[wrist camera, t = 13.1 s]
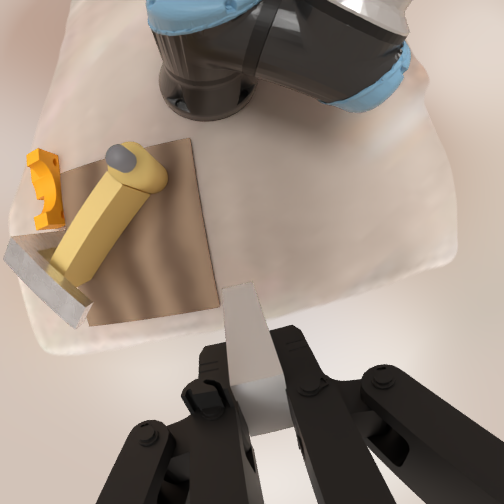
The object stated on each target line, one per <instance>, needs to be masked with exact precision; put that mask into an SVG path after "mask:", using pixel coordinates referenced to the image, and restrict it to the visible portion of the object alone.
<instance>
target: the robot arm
mask: <svg viewBox="0 0 504 504" xmlns="http://www.w3.org/2000/svg"><path fill="white" fill-rule="evenodd" d="M411 1H412V0H146V8H147V14H148V25H149V26H150V28H151V30H152V33H153V35H154V38H155V41H156V44H157V46H158V49H159V52H160V55H161V57H162V60H163V63H162V67H161V70H160V75H159V86H160V90H161V93H162V95H163V98H164V100H165V101H166V103H167V104H168V106H169V107H170V108H171V109H172V110H173V111H175V112H176V113H177V114H179V115H181V116H183V117H185V118H188V119H192V120H198V121H213V120H219V119H223V118H226V117H228V116H230V115H233V114H234V113H236V112H238V111H239V110H240V109H242V108H243V107H244V106H245V105H246V104H247V103H248V102H249V100H250V99H251V97H252V96H253V94H254V91H255V88H256V85H257V80H258V78H260V79H263V80H266V81H269V82H272V83H275V84H278V85H281V86H284V87H287V88H290V89H293V90H295V91H298V92H301V93H303V94H306V95H308V96H311V97H314V98H316V99H318V101H319V102H321V103H323V104H326V105H333V106H335V107H338V108H340V109H343V110H345V111H348V112H355V113H362V112H366V111H369V110H372V109H374V108H375V107H377V106H379V105H380V104H382V103H383V102H384V101H385V100H386V99H388V98H389V97H390V96H391V95H392V93H393V92H394V91H395V90H396V89H397V88H398V86H399V85H400V83H401V82H402V80H403V78H404V76H403V73H404V72H405V71H407V70H408V68H409V65H410V60H411V52H410V49H409V46H408V45H407V44H406V42H405V39H406V37H407V36H408V34H409V32H410V31H409V27H408V24H407V21H406V18H405V10H406V9H407V7H408V6H409V4H410V3H411ZM222 298H223V311H224V324H225V335H226V342H223V343H219V344H214V345H209V346H205V347H204V349H203V350H202V352H201V353H200V355H199V376H198V379H195V380H194V381H192V382H191V383H189V384H188V385H187V386H186V387H185V388H184V389H183V391H182V394H181V398H182V399H183V401H184V403H185V405H186V406H187V408H188V410H189V412H190V413H191V415H189V416H188V417H187V418H185V419H183V420H181V421H179V422H176V423H174V424H171V425H168V426H166V425H164V424H163V423H162V422H159V421H156V420H147V421H144V422H141V423H139V424H138V425H136V426H135V427H134V428H133V429H132V431H131V432H130V434H129V435H128V437H127V439H126V441H125V444H124V446H123V448H122V450H121V452H120V454H119V456H118V458H117V460H116V462H115V464H114V466H113V468H112V470H111V472H110V474H109V476H108V479H107V481H106V483H105V485H104V487H103V489H102V491H101V493H100V496H99V498H98V500H97V502H96V504H264V500H263V495H262V490H261V485H260V480H259V475H258V469H257V464H256V459H255V453H254V449H253V447H252V445H251V442H250V436H251V437H252V436H256V435H261V434H266V433H270V432H274V431H278V430H282V429H286V428H290V427H294V428H295V431H296V436H297V441H298V446H299V449H300V450H301V453H302V456H303V459H304V462H305V465H306V468H307V472H308V475H309V478H310V481H311V484H312V487H313V490H314V493H315V496H316V499H317V502H318V504H396V502H395V500H394V498H393V496H392V494H391V492H390V490H389V488H388V486H387V484H386V482H385V480H384V479H383V476H382V475H381V473H380V471H379V469H378V467H377V465H376V463H375V461H374V459H373V457H372V455H371V453H370V451H369V449H368V448H370V450H371V451H372V452H373V453H374V454H375V455H376V456H377V457H378V458H379V459H380V460H381V461H382V462H383V463H384V464H385V465H386V466H387V467H388V468H389V469H390V470H391V471H392V472H393V473H394V474H395V475H396V476H397V477H399V479H401V480H402V481H403V482H404V483H405V484H406V485H407V486H408V487H409V488H410V489H411V490H412V491H413V492H414V493H415V494H416V495H417V496H418V497H419V498H421V499H422V500H423V501H424V502H425V503H426V504H504V442H503V441H501V440H500V439H499V438H497V437H496V436H494V435H493V434H491V433H490V432H488V431H487V430H485V429H484V428H483V427H481V426H480V425H478V424H477V423H476V422H474V421H473V420H471V419H470V418H468V417H467V416H466V415H464V414H463V413H461V412H460V411H458V410H457V409H455V408H454V407H453V406H451V405H450V404H449V403H447V402H446V401H444V400H443V399H441V398H440V397H439V396H437V395H435V394H434V393H433V392H432V391H430V390H429V389H427V388H426V387H424V386H423V385H421V384H420V383H419V382H417V381H416V380H415V379H413V378H412V377H410V376H409V375H408V374H406V373H405V372H403V371H402V370H400V369H399V368H397V367H395V366H393V365H385V364H384V365H377V366H374V367H372V368H370V369H368V370H367V371H366V372H365V373H364V374H363V376H362V379H359V380H350V381H338V380H334V379H331V378H330V377H328V376H327V375H325V374H324V373H323V372H322V370H321V368H320V366H319V364H318V362H317V360H316V359H315V356H314V355H313V353H312V351H311V349H310V347H309V345H308V343H307V341H306V340H305V337H304V335H303V333H302V331H301V330H300V329H298V328H296V327H295V326H293V325H289V326H286V327H282V328H278V329H274V330H270V331H269V330H268V326H267V323H266V320H265V317H264V314H263V311H262V308H261V305H260V302H259V299H258V296H257V293H256V290H255V287H254V284H253V281H252V282H248V283H244V284H240V285H236V286H232V287H227V288H223V289H222ZM249 434H250V436H249ZM367 446H368V447H367Z"/></svg>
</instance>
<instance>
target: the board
mask: <svg viewBox="0 0 504 504" xmlns="http://www.w3.org/2000/svg"><path fill="white" fill-rule="evenodd" d="M144 149H145V150H146V151H147V152H148V153H149V154H150V155H151V156H153V157H154V158H155V159H156V160H157V161H158V162H159V163H160V164H161V165H162V166H163V167H164V168H165V169H166V171H167V173H168V182H167V185H166V186H165V188H164V189H163V190H162V191H160V192H158V193H155V194H150V196H149V198H148V199H147V200H146V201H145V203H144V204H143V205H142V207H141V208H140V209H139V211H138V212H137V213H136V215H135V216H134V217H133V219H132V220H131V221H130V223H129V224H128V226H127V227H126V228H125V230H124V231H123V232H122V234H121V235H120V237H119V238H118V240H117V241H116V242H115V244H114V245H113V247H112V248H111V250H110V251H109V253H108V254H107V256H106V257H105V259H104V260H103V262H102V263H101V265H100V266H99V268H98V270H97V271H96V273H95V274H94V276H93V277H92V279H91V280H90V281H88V282H86V283H84V284H82V285H80V286H78V289H79V290H80V291H81V292H82V293H83V294H85V295H86V296H87V297H88V298H89V299H91V300H92V301H93V304H92V306H91V308H90V310H89V312H88V314H87V316H86V317H87V320H88V323H89V326H98V325H106V324H114V323H122V322H129V321H137V320H144V319H151V318H157V317H164V316H170V315H177V314H183V313H189V312H195V311H201V310H206V309H212V308H218V307H220V304H219V299H218V294H217V289H216V284H215V279H214V274H213V269H212V264H211V259H210V254H209V249H208V243H207V238H206V232H205V227H204V221H203V216H202V210H201V204H200V198H199V192H198V186H197V180H196V173H195V167H194V160H193V154H192V147H191V140H190V138H186V139H181V140H176V141H172V142H167V143H163V144H158V145H154V146H150V147H146V148H144ZM106 171H108V164H107V163H106V160H105V159H103V160H99V161H96V162H93V163H90V164H87V165H84V166H81V167H78V168H75V169H72V170H69V171H67V172H64V173H61V174H60V182H61V193H62V202H63V211H64V218H65V225H66V231H67V230H68V228H69V226H70V225H71V223H72V221H73V220H74V218H75V217H76V215H77V213H78V212H79V210H80V209H81V207H82V206H83V204H84V203H85V201H86V200H87V198H88V197H89V195H90V194H91V192H92V191H93V189H94V188H95V187H96V185H97V184H98V182H99V181H100V180H101V178H102V177H103V175H104V174H105V173H106Z"/></svg>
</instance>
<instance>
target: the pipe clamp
mask: <svg viewBox="0 0 504 504" xmlns="http://www.w3.org/2000/svg"><path fill="white" fill-rule="evenodd" d="M27 166H28V167H30V168H31V178H32V183H33V185H34V188H35V191H36V196H37V200H44V208H43V211H42V213H41V214H40V215H38V216H36V217H34V220H35V226H36V230H45V229H57V228H60V227H62V226H65V218H64V211H63V202H62V193H61V182H60V169H59V160H58V155H55V154H53V153H50V152H47V151H44V150H42V149H39V148H37V149H36V150H34V151H32V152H31V153H29V154H27Z"/></svg>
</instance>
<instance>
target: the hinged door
mask: <svg viewBox="0 0 504 504" xmlns="http://www.w3.org/2000/svg"><path fill="white" fill-rule="evenodd" d="M105 160H106V163H107V164H108V171H106V173H105V174H104V175H103V177H102V178H101V180H100V181H99V182H98V184H97V185H96V187H95V188H94V189H93V191H92V192H91V194H90V195H89V197H88V198H87V200H86V201H85V203H84V204H83V206H82V207H81V209H80V210H79V212H78V213H77V215H76V217H75V218H74V220H73V221H72V223H71V225H70V226H69V228H68V230H67V231H66V233H65V235H64V236H63V238H62V240H61V242H60V243H59V245H58V247H57V249H56V251H55V253H54V254H53V256H52V258H51V260H50V262H49V263H50V264H51V265H52V266H53V267H54V268H55V269H56V270H57V271H58V272H59V273H60V274H61V275H63V276H64V277H65V278H66V279H67V280H68V281H69V282H70V283H72V284H73V285H74V286H75V287H78V286H80V285H82V284H84V283H86V282H88V281H90V280H91V279H92V277H93V276H94V274H95V273H96V271H97V270H98V268H99V266H100V265H101V263H102V262H103V260H104V259H105V257H106V256H107V254H108V253H109V251H110V250H111V248H112V247H113V245H114V244H115V242H116V241H117V240H118V238H119V237H120V235H121V234H122V232H123V231H124V230H125V228H126V227H127V226H128V224H129V223H130V221H131V220H132V219H133V217H134V216H135V215H136V213H137V212H138V211H139V209H140V208H141V207H142V205H143V204H144V203H145V201H146V200H147V199H148V198H149V196H150V194H155V193H158V192H160V191H162V190H163V189H164V188H165V186H166V185H167V182H168V173H167V171H166V169H165V168H164V167H163V166H162V165H161V164H160V163H159V162H158V161H157V160H156V159H155V158H154V157H153V156H151V155H150V154H149V153H148V152H147V151H146V150H145V149H144V148H143V147H142V146H141V145H139V144H138V143H135V142H125V143H122V144H116V145H113V146H111V147H110V148H109V149H108V151H107V153H106V156H105Z"/></svg>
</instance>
